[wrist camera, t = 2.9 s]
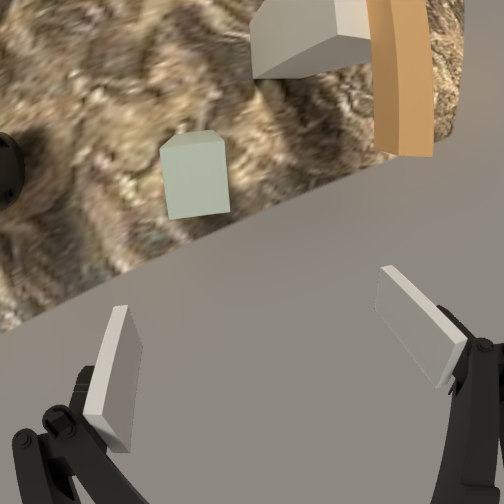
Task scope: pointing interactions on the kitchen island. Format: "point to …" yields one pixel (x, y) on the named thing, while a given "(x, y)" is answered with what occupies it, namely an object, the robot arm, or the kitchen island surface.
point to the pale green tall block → (195, 174)
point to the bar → (402, 77)
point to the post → (308, 37)
